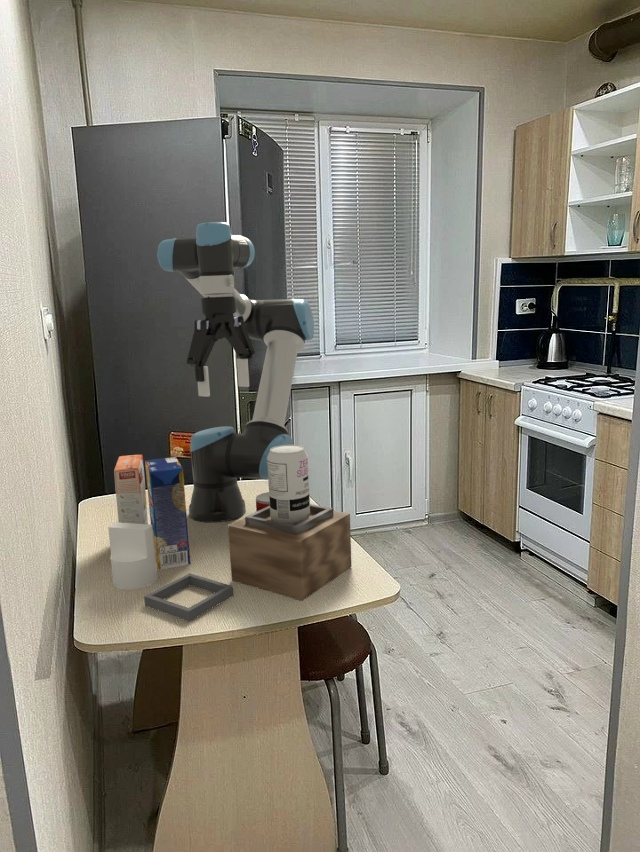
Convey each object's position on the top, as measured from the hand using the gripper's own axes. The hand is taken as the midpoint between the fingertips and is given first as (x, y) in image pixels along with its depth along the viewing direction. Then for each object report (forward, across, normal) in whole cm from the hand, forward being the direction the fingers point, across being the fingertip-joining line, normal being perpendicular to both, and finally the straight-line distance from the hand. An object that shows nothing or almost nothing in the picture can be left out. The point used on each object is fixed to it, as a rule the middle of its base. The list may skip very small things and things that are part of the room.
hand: (224, 391), depth 149 cm
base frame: (+36, -28, -12) cm, 47 cm away
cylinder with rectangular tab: (+36, -26, +5) cm, 45 cm away
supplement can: (+24, -8, -22) cm, 34 cm away
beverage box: (+36, -14, +7) cm, 40 cm away
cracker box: (+37, -13, +20) cm, 44 cm away
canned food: (+37, +5, -8) cm, 38 cm away
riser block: (+36, -8, -22) cm, 43 cm away
